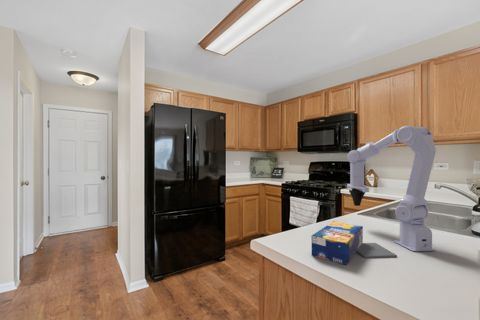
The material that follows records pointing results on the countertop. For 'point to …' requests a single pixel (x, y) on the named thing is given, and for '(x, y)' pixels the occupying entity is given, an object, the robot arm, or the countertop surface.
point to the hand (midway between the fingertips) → (357, 205)
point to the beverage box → (337, 242)
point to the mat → (374, 251)
